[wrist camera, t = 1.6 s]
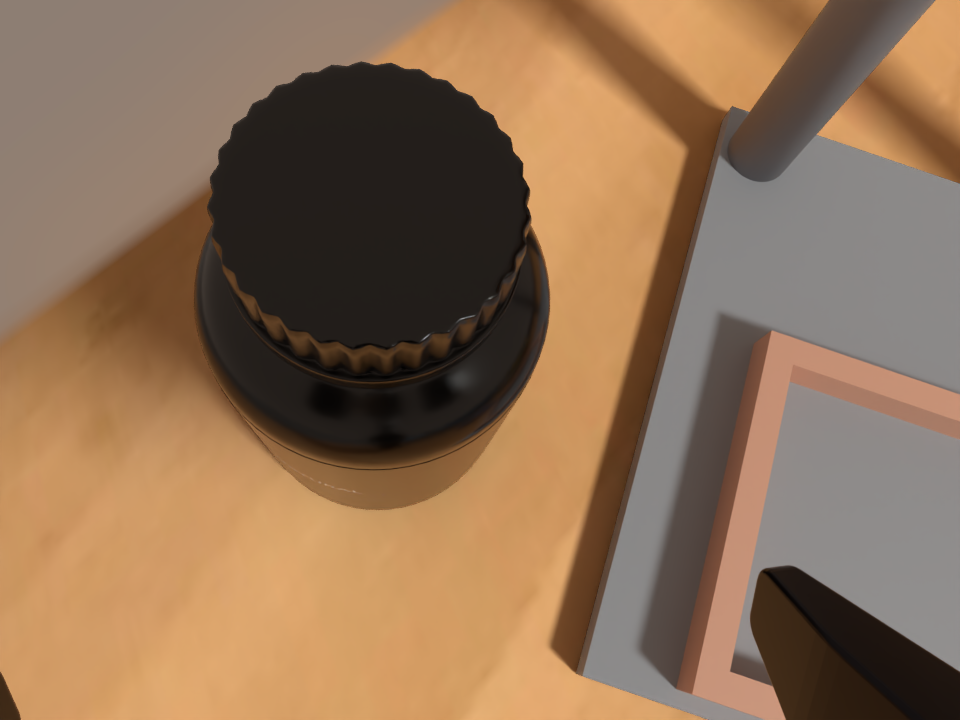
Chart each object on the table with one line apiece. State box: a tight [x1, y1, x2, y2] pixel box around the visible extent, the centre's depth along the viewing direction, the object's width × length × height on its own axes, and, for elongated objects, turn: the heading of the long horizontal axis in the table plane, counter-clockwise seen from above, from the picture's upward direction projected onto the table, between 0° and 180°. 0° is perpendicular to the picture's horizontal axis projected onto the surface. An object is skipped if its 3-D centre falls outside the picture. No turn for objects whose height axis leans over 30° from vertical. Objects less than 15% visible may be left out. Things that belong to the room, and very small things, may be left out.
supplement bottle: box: [194, 62, 550, 510], centre depth 17 cm, size 7×7×12 cm
